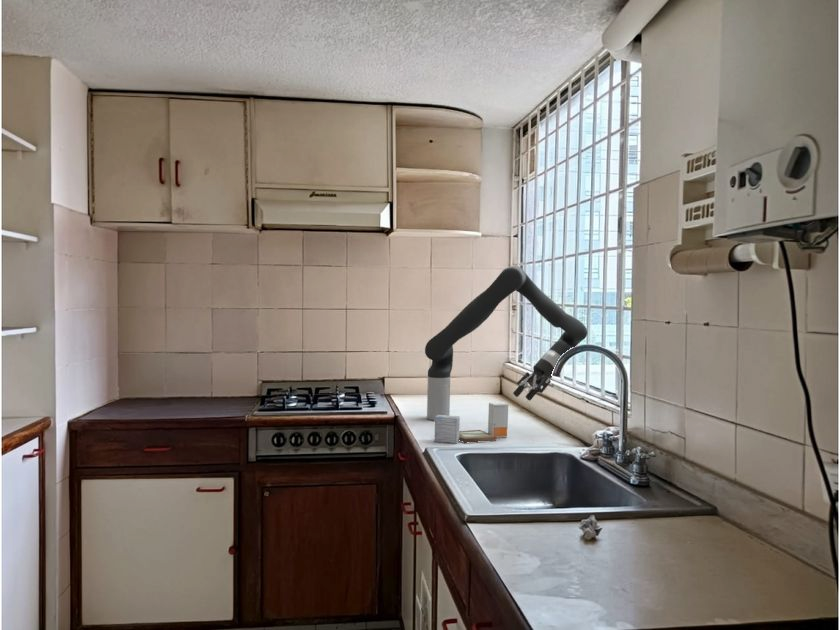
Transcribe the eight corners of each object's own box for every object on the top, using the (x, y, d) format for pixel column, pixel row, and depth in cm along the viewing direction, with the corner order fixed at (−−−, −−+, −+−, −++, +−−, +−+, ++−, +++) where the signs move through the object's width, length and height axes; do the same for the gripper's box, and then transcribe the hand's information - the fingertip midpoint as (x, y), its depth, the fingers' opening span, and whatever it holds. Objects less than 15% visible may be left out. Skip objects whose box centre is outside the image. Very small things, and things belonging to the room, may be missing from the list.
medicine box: (459, 441, 211) (460, 416, 211) (456, 444, 207) (457, 418, 207) (437, 439, 213) (437, 414, 213) (434, 442, 209) (434, 416, 209)
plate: (449, 435, 219) (450, 431, 219) (479, 433, 223) (480, 429, 223) (464, 443, 208) (464, 438, 208) (496, 441, 212) (496, 436, 212)
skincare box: (492, 438, 216) (492, 404, 216) (487, 435, 220) (488, 402, 220) (508, 437, 218) (508, 404, 218) (503, 435, 222) (504, 402, 222)
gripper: (532, 356, 232) (504, 387, 228) (553, 359, 219) (525, 392, 215) (543, 369, 234) (516, 401, 230) (566, 374, 221) (538, 407, 217)
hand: (521, 397), depth 223 cm, fingers open, 8 cm apart
